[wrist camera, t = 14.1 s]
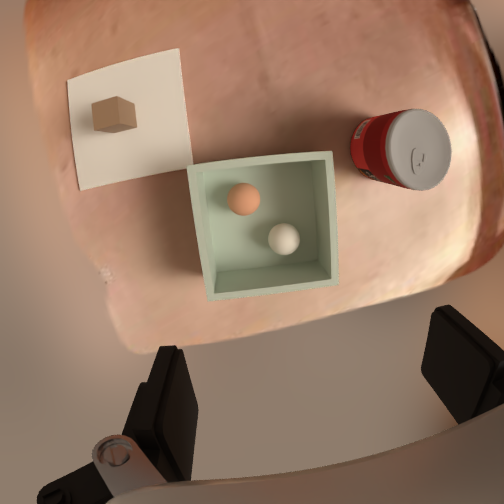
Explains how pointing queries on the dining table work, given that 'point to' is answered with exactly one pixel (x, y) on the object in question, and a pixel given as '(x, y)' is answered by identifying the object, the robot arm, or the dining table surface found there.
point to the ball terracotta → (243, 199)
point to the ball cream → (284, 239)
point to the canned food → (403, 149)
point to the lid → (129, 120)
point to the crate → (266, 224)
